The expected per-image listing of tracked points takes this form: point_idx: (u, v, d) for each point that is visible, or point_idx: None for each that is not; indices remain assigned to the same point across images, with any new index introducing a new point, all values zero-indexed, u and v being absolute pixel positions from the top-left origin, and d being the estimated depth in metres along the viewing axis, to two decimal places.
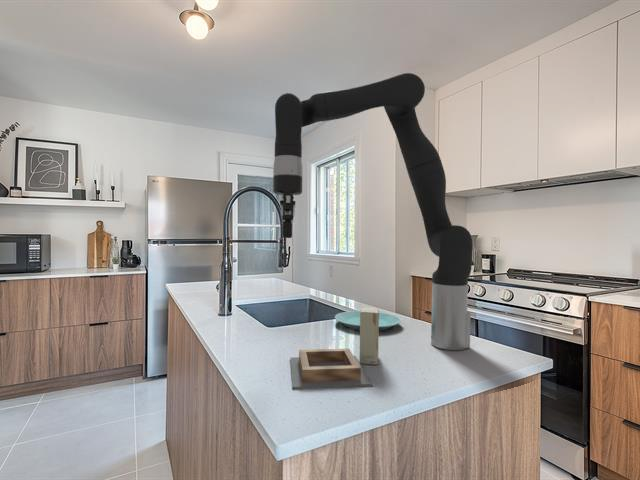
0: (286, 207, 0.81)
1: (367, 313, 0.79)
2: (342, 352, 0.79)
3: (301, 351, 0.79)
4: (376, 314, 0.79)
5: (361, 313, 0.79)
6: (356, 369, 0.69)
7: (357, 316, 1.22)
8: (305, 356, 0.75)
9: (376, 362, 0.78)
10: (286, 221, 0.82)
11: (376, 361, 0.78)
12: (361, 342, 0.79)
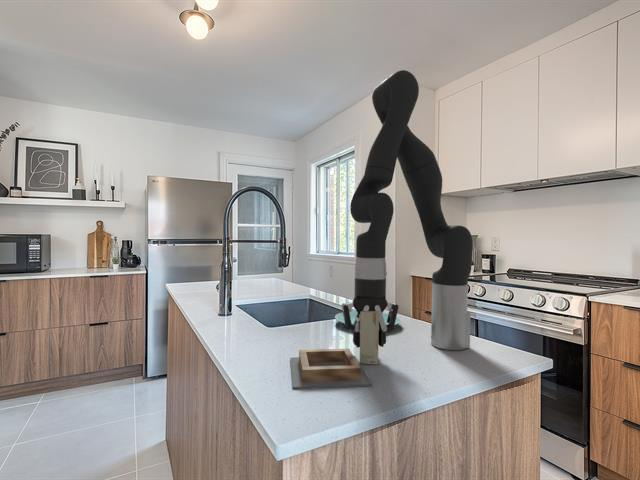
0: None
1: (367, 313, 0.79)
2: (342, 352, 0.79)
3: (301, 351, 0.79)
4: (376, 314, 0.78)
5: (361, 313, 0.79)
6: (356, 369, 0.69)
7: None
8: (305, 356, 0.75)
9: (376, 362, 0.78)
10: None
11: (376, 361, 0.78)
12: (361, 342, 0.79)
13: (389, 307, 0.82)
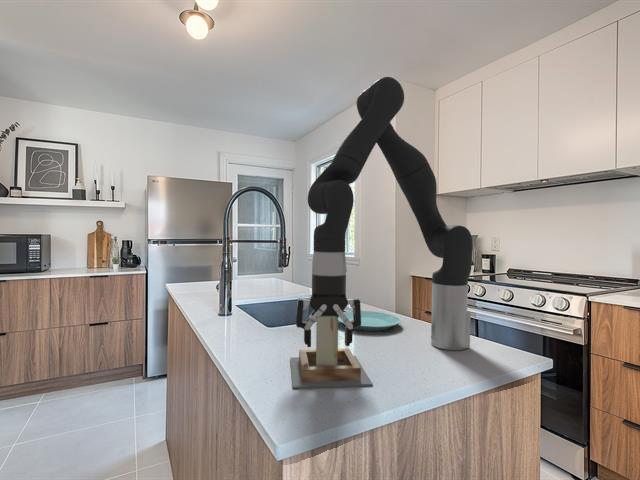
0: None
1: (324, 318, 0.72)
2: (342, 352, 0.79)
3: (301, 351, 0.79)
4: (334, 319, 0.71)
5: (317, 318, 0.72)
6: (356, 369, 0.69)
7: None
8: (305, 356, 0.75)
9: None
10: None
11: None
12: (317, 350, 0.72)
13: (351, 304, 0.75)
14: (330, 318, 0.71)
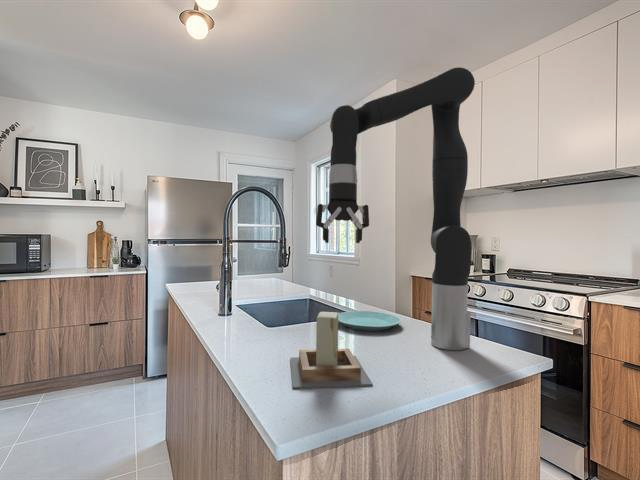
0: None
1: (324, 318, 0.72)
2: (342, 352, 0.79)
3: (301, 351, 0.79)
4: (334, 319, 0.71)
5: (318, 318, 0.72)
6: (356, 369, 0.69)
7: (357, 316, 1.22)
8: (305, 356, 0.75)
9: None
10: None
11: None
12: (318, 350, 0.72)
13: (360, 209, 0.92)
14: (330, 318, 0.71)
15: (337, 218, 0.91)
